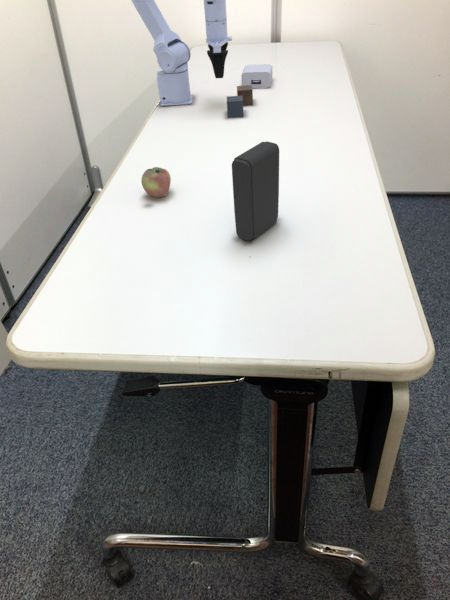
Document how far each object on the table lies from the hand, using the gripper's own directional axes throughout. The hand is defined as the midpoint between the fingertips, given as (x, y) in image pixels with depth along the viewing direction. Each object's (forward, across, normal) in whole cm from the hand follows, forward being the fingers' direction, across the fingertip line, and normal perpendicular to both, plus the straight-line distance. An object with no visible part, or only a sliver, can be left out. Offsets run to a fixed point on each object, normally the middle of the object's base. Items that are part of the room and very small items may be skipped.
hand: (219, 74), depth 132 cm
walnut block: (+8, 0, -7) cm, 11 cm away
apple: (+9, -54, +13) cm, 56 cm away
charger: (+9, +21, -12) cm, 26 cm away
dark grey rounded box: (+9, -69, -7) cm, 70 cm away
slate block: (+8, -9, -4) cm, 13 cm away
